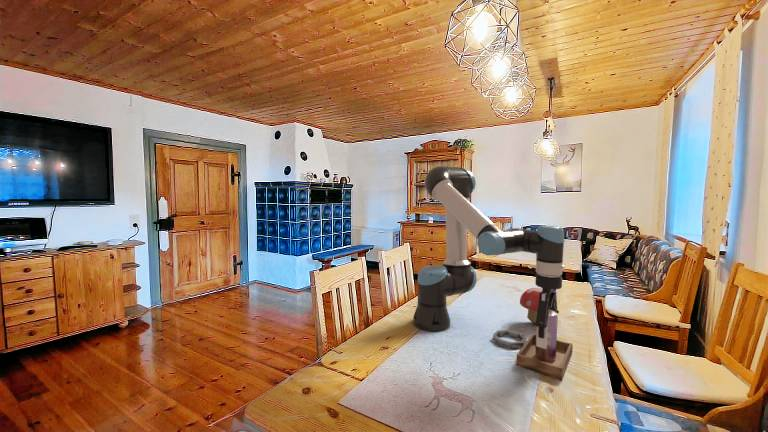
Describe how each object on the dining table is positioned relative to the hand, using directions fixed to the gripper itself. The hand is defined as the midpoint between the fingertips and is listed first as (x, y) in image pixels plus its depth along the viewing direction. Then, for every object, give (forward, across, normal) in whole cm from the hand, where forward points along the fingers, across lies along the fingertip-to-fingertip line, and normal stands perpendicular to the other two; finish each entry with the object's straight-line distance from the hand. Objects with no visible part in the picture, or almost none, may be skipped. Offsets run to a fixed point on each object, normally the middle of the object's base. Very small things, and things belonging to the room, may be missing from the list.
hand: (546, 339), depth 102 cm
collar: (+7, +6, +13) cm, 16 cm away
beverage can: (+6, 0, 0) cm, 6 cm away
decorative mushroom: (+7, +29, +9) cm, 31 cm away
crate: (+7, 0, 0) cm, 7 cm away
